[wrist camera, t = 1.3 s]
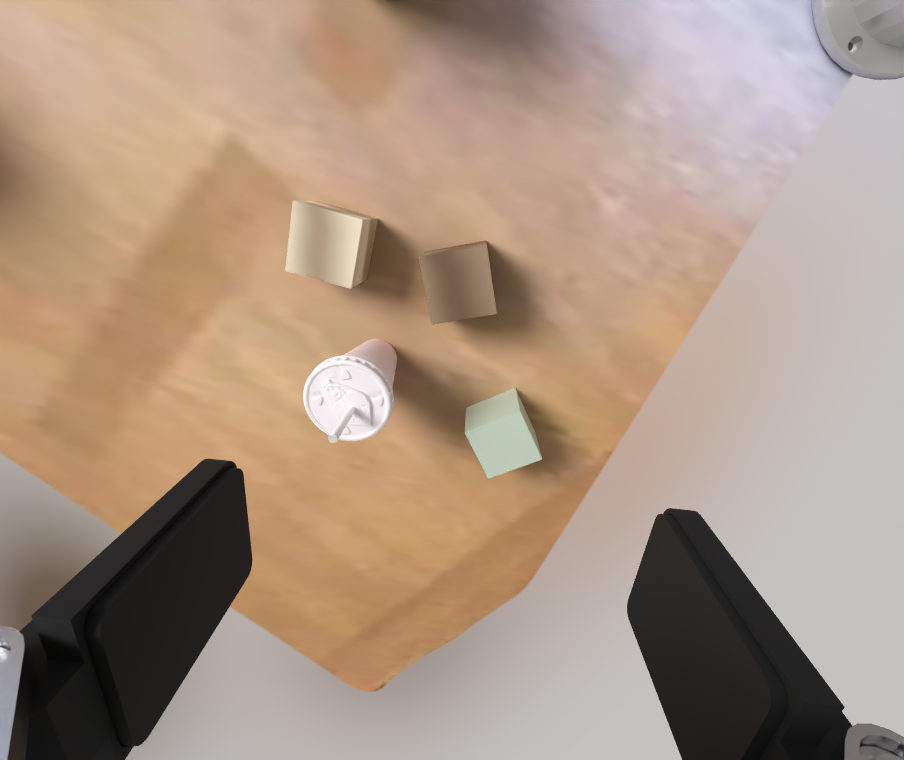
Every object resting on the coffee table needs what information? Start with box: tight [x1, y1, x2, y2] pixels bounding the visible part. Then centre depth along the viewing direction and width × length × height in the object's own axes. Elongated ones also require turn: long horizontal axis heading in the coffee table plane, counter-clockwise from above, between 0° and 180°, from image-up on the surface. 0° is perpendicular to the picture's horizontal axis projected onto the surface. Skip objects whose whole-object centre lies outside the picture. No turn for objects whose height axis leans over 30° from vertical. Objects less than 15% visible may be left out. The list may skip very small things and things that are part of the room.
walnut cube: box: [418, 241, 497, 324], centre depth 33 cm, size 5×5×5 cm
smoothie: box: [303, 339, 397, 443], centre depth 32 cm, size 6×6×14 cm
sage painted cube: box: [465, 388, 542, 479], centre depth 38 cm, size 5×5×5 cm
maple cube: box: [285, 200, 378, 289], centre depth 33 cm, size 5×5×5 cm
